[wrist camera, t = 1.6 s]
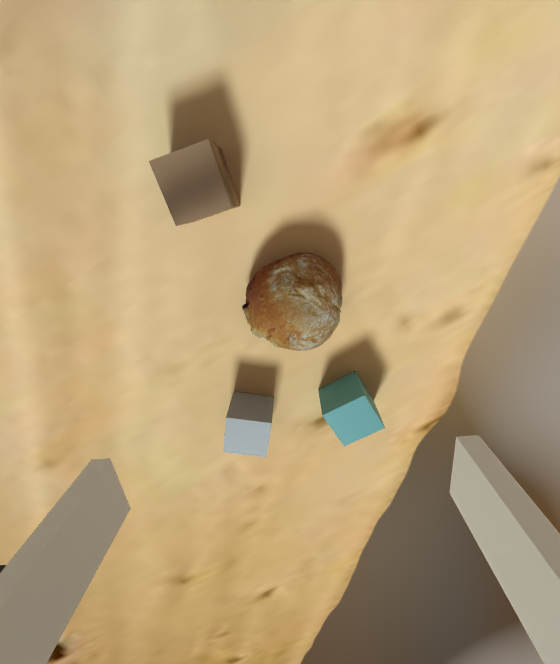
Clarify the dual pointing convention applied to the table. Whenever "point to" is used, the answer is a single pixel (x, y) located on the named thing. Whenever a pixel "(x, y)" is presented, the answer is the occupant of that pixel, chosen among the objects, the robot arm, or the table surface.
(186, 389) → the table surface
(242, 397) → the slate grey block
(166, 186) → the walnut block
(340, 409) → the dark teal block
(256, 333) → the bread roll
